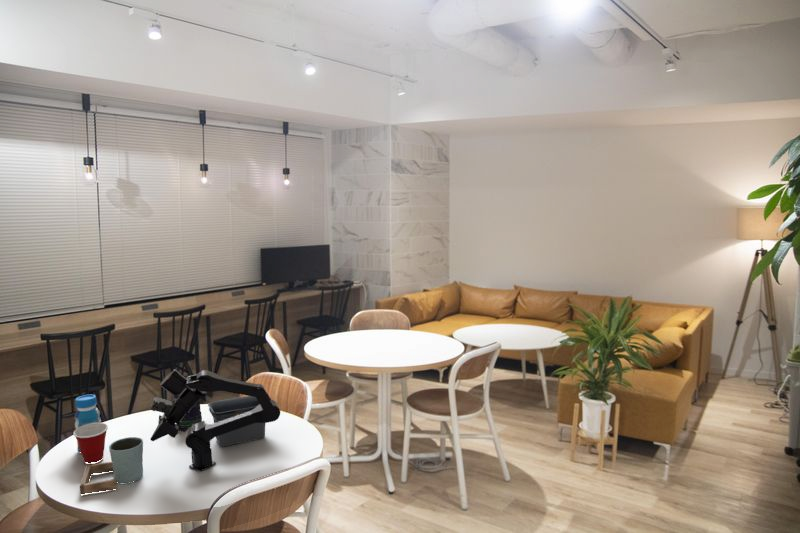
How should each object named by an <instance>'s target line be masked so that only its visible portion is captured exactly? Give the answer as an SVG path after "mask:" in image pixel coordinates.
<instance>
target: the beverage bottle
mask: <svg viewBox="0 0 800 533" xmlns="http://www.w3.org/2000/svg"><path fill="white" fill-rule="evenodd" d="M74 401H75V408H76V411H75V414H74V420H75V422H74V427H75V430H76V429H77V428H79V427H81V426H83V425H86V424H90V423H102V419H101V417H100V415H101V411H100V409H98V407H97V396H96V394H83V395H81V396H77V397H76V398H75V400H74ZM76 441H77V440H76ZM76 443H77V452H78V453H79V452H81V451H80V447H79V444H78V441H77V442H76Z"/></svg>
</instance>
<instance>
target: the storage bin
mask: <svg viewBox="0 0 800 533" xmlns="http://www.w3.org/2000/svg"><path fill="white" fill-rule="evenodd" d="M258 405H259V402H258V400H257V398H256V397H253V396H248V395H244V396H241V397H233V398H227V399H222V400H221V399H220V400H215V401H211V402H208V404H207V406H208V411H209V412H210V414H211V417H212V419H213V424H214V423H217V422H219V421H222V420H225V419H228V418H231V417H234V416H237V415H240V414H243V413H245V412H248V411H251V410H253V409H254V408H255V407H257V406H258ZM265 436H266V423H254V424H251V425H248V426H245V427H243V428H240V429H237V430H234V431H231V432H228V433H225V434H223V435H220V436H217V437H215V439H216V440H217V443H218V444H219V446H220V447H227V446H231V445H236V444H243V443H247V442H251V441H257V439H258V440H261V439H262V440H263V439H264V438H265Z"/></svg>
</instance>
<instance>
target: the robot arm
mask: <svg viewBox="0 0 800 533" xmlns="http://www.w3.org/2000/svg"><path fill="white" fill-rule="evenodd" d="M159 386H160V387H161V388H163V389H164V390H165V391H167V392H168V393H170V394H171V395H172V396H174V395H179V394H180V393H181V392H182V391H183V390H184V389H185V388H186V389H185V390H184V392H183V393H182V394H181V395H180V396H179V397H178V398H177V399H176V398H175V399H174V398H173V399H172V400H167V399H165V398H161V397H158V396H154V397H153V400H152V403H151V404H150V411H153V412H159V413H163V414H162V415H160V414H159V416H158V421H157V422H158V423H157V424H158V425H157V426H156V428H155V430H154V431H153V434H152V435H151V436H150V441H151V442H155V441H157V440H159V439H161V438H164V437H165V436H167V435H168V436H170V437H171V438H174V439H175V438H176V437H177V435H179V431H178V425H179V424H180V423H181V420H182V418H183V417H184V416H185V415H188V414H189V411H190V409H191V408H192V407H193V406H194V405H195V404H196V403H197V402H198V400H199V399H200V400H202V401H203V402H204V403H205V402H207V393H214V392H227V393H233V394H237V395H244V396H253V397H256V398H257V400H258V402H259V405H258V406H257V407H255V408H254V409H253V410H251V411H248V412H245V413H243V414H240V415H237V416H234V417H231V418H228V419H225V420H222V421H219V422H217V423H214V422H213V423H212V424H211V423H210V424H208V423H207V424H206V423H205V420H202V421H201V422H200V423H197V424H192V426H191V427H189V428H188V430H187V431H186V432H185V436H184V437H185V439H184V440H185V446H186V447H188V449H191V453H190V454H191V464H190V465H188V468H191V469H193V470H195V471H200V472H203V471H205V470H207V469H209V468H210V467H212V466H215V465H216V464H217V462H216V461H214V460H213V456H212V455H213V454H212V453H213V451H212V448H211V441H212V440H213V439H214V438H215V439H216V437H217V436H220V435H223V434H225V433H228V432H231V431H234V430H237V429H240V428H243V427H245V426H248V425H251V424H254V423H265V424H267V423H272V422H275V421H277V420H278V419H279V418H280V416H281V410H280V407H279V404H278V403H277V402H276V400H274V399H272V398H271V397H270V395H269V393H267V390H266V389H265V387H264V385H263V384H261V383H252V382H247V381H242V380H237V379H231V378H227V377H224V376H221V375H219V374H218V373H215V372H213V371H210V370H207V369H206V370H205V369H203V370H201V371H199V372H198V373H197V374H192V375H189V376H184V375H183V374H181V373H180V372H179V371H178V370H177V369H173V371H171V372H169V374H167V375H166V376H165V377H164V378H163V380H162V381H160V384H159ZM176 424H178V425H176Z"/></svg>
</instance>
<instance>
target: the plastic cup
mask: <svg viewBox="0 0 800 533" xmlns="http://www.w3.org/2000/svg"><path fill="white" fill-rule="evenodd" d="M108 426H109V425H108V424H107V423H104V422H101V423H90V424H86V425H83V426H81V427H79V428H77V429H76V428H75V429H74V430H73V434H72V435H73V436H74V438H76V441H78V444H79V447H80V451H81V454H80V455H82V459H83V462H84V463H85V462H88V463H91V462H97V461H99V460H101V459H102V458H103V459H104V452H105V445H106V444H105V443H106V436H107V432H108V431H107V430H108V429H109V427H108ZM78 444H77V445H78Z"/></svg>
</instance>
